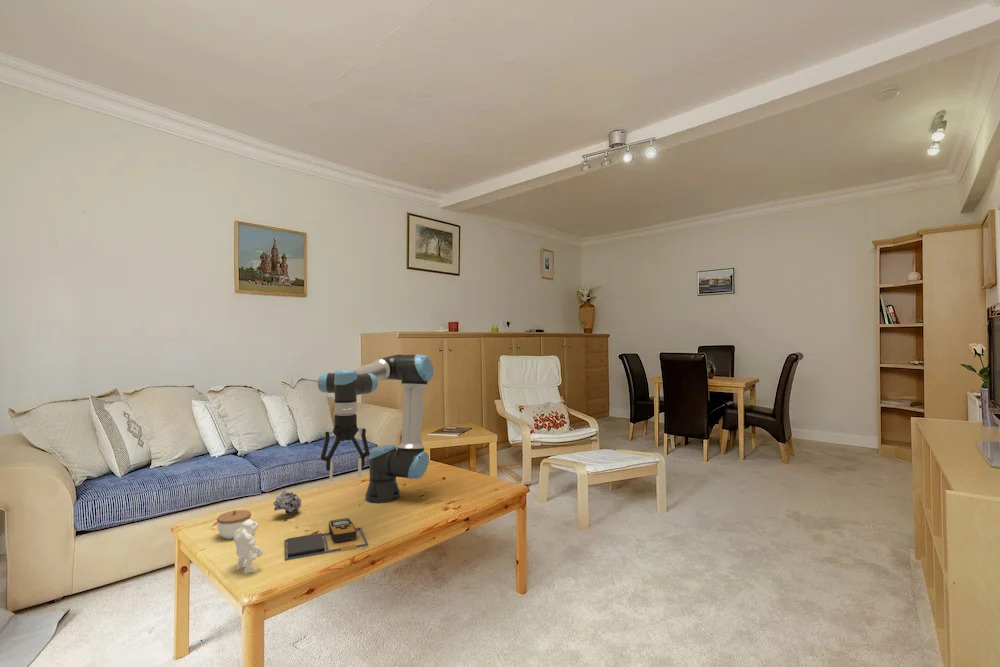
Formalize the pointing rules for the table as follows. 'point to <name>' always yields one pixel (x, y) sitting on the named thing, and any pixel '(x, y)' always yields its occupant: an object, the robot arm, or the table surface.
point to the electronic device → (342, 529)
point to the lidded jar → (231, 522)
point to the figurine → (246, 545)
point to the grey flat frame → (313, 545)
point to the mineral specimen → (288, 502)
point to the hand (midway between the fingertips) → (345, 477)
